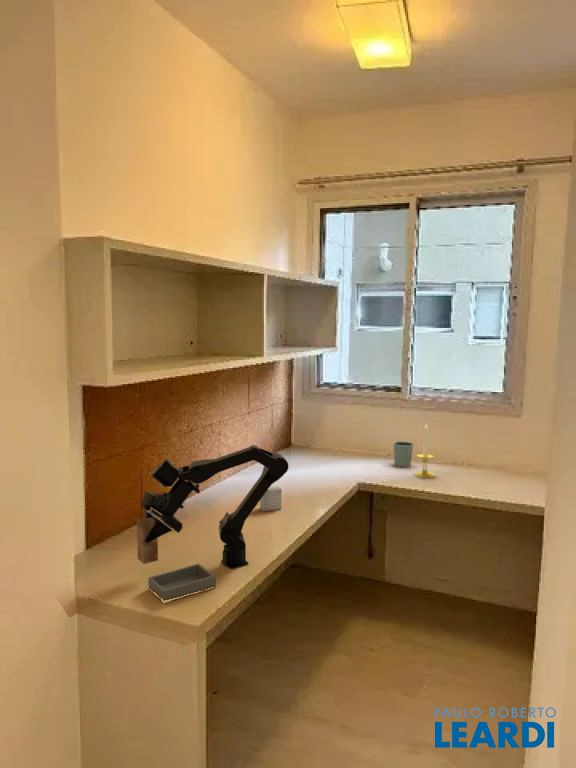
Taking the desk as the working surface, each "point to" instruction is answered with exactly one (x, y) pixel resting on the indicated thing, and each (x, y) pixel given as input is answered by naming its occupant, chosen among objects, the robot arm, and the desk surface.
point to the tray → (181, 582)
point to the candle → (425, 456)
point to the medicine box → (271, 499)
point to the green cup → (403, 454)
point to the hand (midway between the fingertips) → (142, 539)
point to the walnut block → (146, 550)
